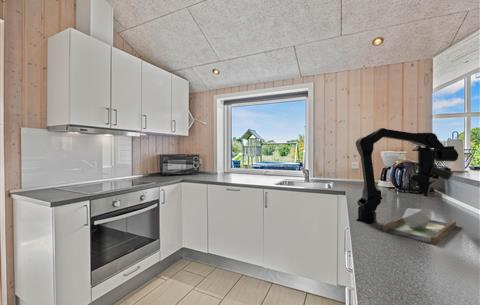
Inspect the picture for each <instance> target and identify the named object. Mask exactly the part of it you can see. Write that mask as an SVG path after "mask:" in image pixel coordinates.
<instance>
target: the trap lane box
mask: <svg viewBox="0 0 480 305" xmlns="http://www.w3.org/2000/svg"><path fill="white" fill-rule="evenodd" d="M403 216H404V215H402V216H400V217H398V218H395V219H394V220H392V221H389V222H388V223H385V224H384V225H383V232H385V233H388V234H392V235H395V236H399V237H403V238H407V239H411V240H415V241H419V242H421V243H426V244H429V245H432V246H436V245H437V244H438V243H439V242H440V241H441V240H442V239H443V238H444V237H446V235H447V234H449V233H450V232H451V231H452V230H453V229H454V228H455V227H456V226H457V220H456V219H452V220H451V221H450V222H443V221H438V220H433V219H430V221H429V223H428V224H427V226H426V228H425V230H424V229H414V228H409V226H408V225H407V224H406V222H405V221H404V220H403V219H402V217H403Z"/></svg>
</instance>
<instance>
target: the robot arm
mask: <svg viewBox="0 0 480 305" xmlns="http://www.w3.org/2000/svg"><path fill="white" fill-rule="evenodd" d="M383 138H385V139H392V140H396V141H397V140H398V141H404V142H409V143H411V144H413V145H416V147H414V148H413V149H412V152H417V163H416V166H417V172H416V173H414V174H412V175H411V176H410V181H411V182H416V184H417V185H418V187H419V190H420V191H421V192H422V194H423V196H424V197H429V194H430V190H431V188H432V186H433V184H434V183H435V184H436V183H437V180H441V178H443V179H444V180H446V181H447V180H451V179H452V178H451V177H453V174H454V171H452V168H449V167H447V166H446V167H444V168H441V167H438V165H437V163H436V162H448V163H449V162H457V160H458V159H459V153H458V150H456V148H455V146H454V145H445V146H444V144H443V143H442V142H441V141H440V139H438V136H437V134H436V133H435V132H410V131H409V132H408V131H401V130H394V129H389V128H388V129H387V128H385V127H381V128H377V129H375V130H374V131H372V132H371V133H370V134H367V135H366V136H364V137H363V136H362V137H359V138H357V140H356V141H355V147H356V150H357V152H358V154H359V157H360V161H361V168H362V169H361V171H362V177H363V185H364V186H363V189H362V194H361V196H362V197H361V198H360V199H358V200H357V201H356V202H357V205H358V207H357V210H358V211H357V218H356V221H357V222H362V223H364V224H365V223H367V224H369V225H370V224H371V225H372V224H374V223H377V221H378V220H377V212H376V211H377V208H378V206H379V205H381V204H382V200H383V196H382V190H381V189H378V187H376V180H375V179H376V178H375V172H374V164H373V157H372V156H373V152H374V147H375V146H374V145H375V144H376V143H378V142H379V141H380V140H381V139H383ZM434 179H435V180H434Z"/></svg>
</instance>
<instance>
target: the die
mask: <svg viewBox="0 0 480 305" xmlns="http://www.w3.org/2000/svg"><path fill="white" fill-rule="evenodd" d="M402 216H403V217H402ZM402 216H401V217H402V219H403V220H404V221H405V222H406V224H407V225H408V226H409V228H414V229H424V230H425V228H426V226H427V224H428V223H429V221H430V220H431V218H430V217H429V216H428V215H427V214H426V212H424V211H423V210H422V209H419V208H408V207H407V208H406V210H405V212H404V214H403V215H402Z"/></svg>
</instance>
